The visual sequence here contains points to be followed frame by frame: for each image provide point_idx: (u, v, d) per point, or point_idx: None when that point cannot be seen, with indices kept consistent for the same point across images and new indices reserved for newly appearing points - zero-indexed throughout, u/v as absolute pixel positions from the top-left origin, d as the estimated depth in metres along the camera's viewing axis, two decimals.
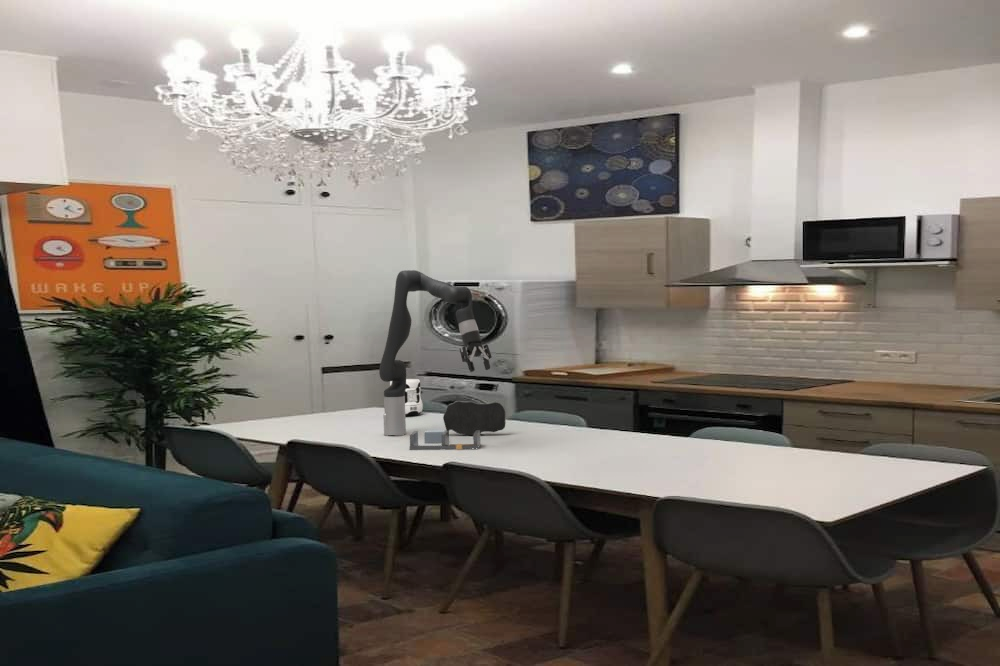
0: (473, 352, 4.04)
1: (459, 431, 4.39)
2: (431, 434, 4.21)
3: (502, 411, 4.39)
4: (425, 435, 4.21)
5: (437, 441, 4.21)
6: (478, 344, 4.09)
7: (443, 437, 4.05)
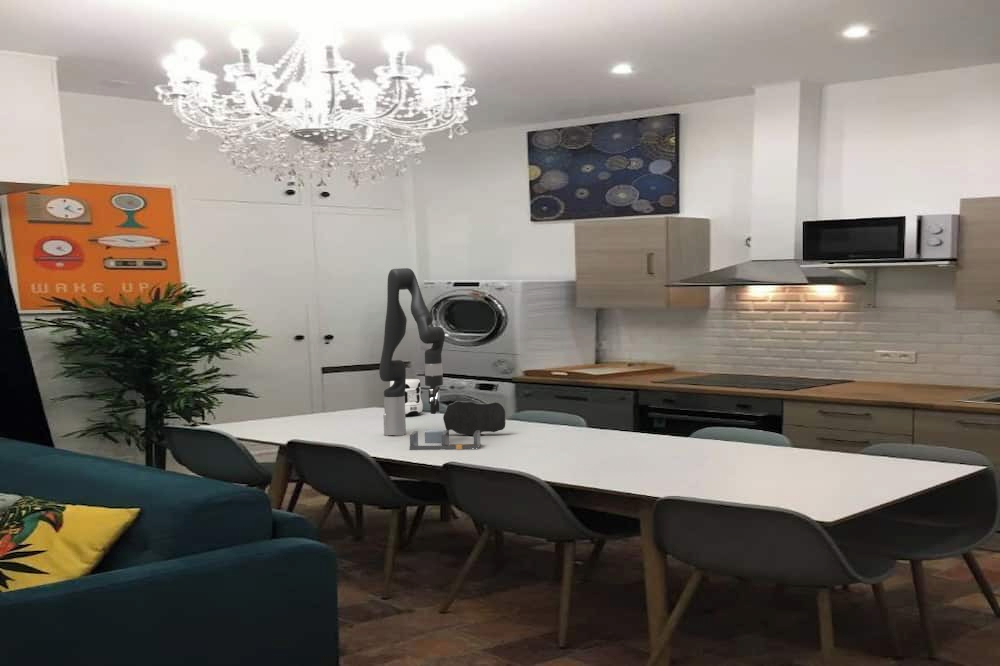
0: (437, 395, 4.19)
1: (459, 431, 4.39)
2: (431, 434, 4.22)
3: (502, 411, 4.39)
4: (425, 435, 4.22)
5: (437, 441, 4.21)
6: (437, 386, 4.24)
7: (443, 437, 4.05)
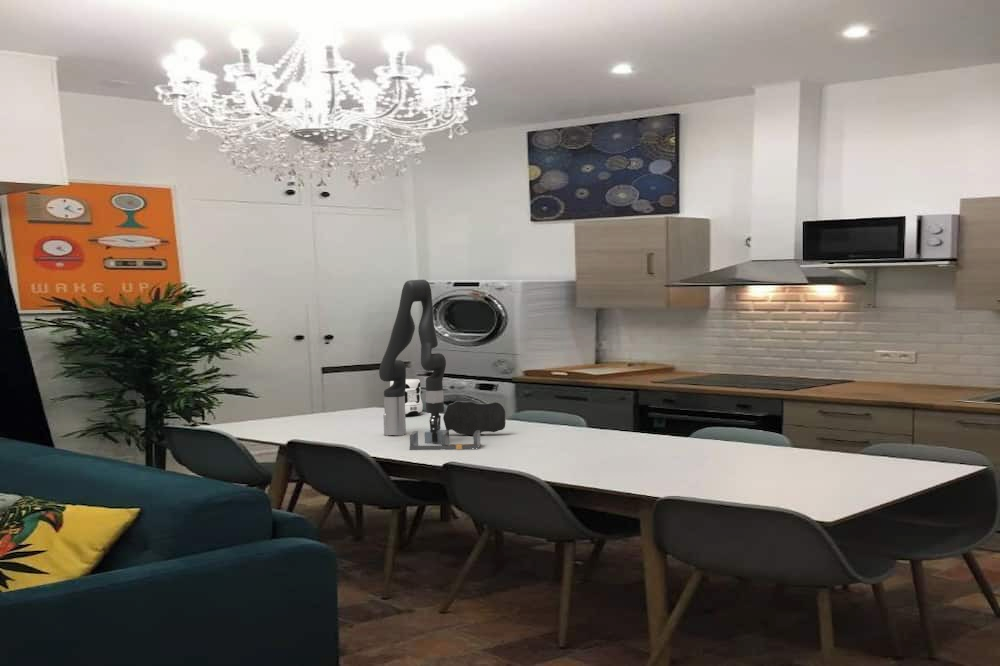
0: (438, 423, 4.21)
1: (459, 431, 4.39)
2: (431, 434, 4.21)
3: (502, 411, 4.39)
4: (425, 435, 4.21)
5: (437, 441, 4.21)
6: (438, 413, 4.24)
7: (443, 437, 4.05)
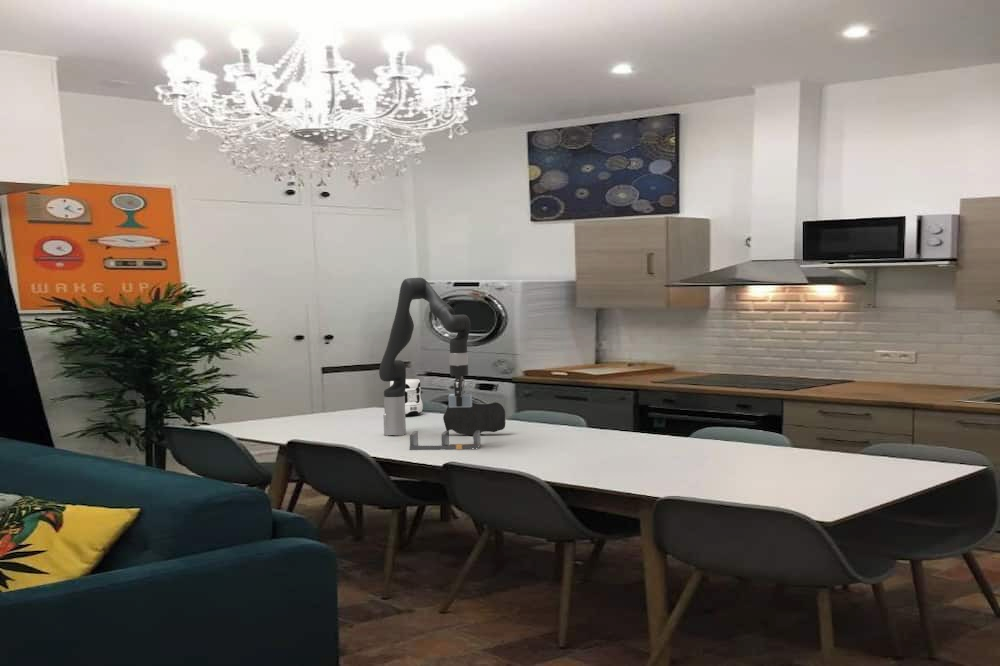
0: (462, 387, 4.06)
1: (459, 431, 4.39)
2: (455, 397, 4.07)
3: (502, 411, 4.39)
4: (449, 398, 4.07)
5: (462, 405, 4.07)
6: (462, 377, 4.10)
7: (443, 437, 4.05)
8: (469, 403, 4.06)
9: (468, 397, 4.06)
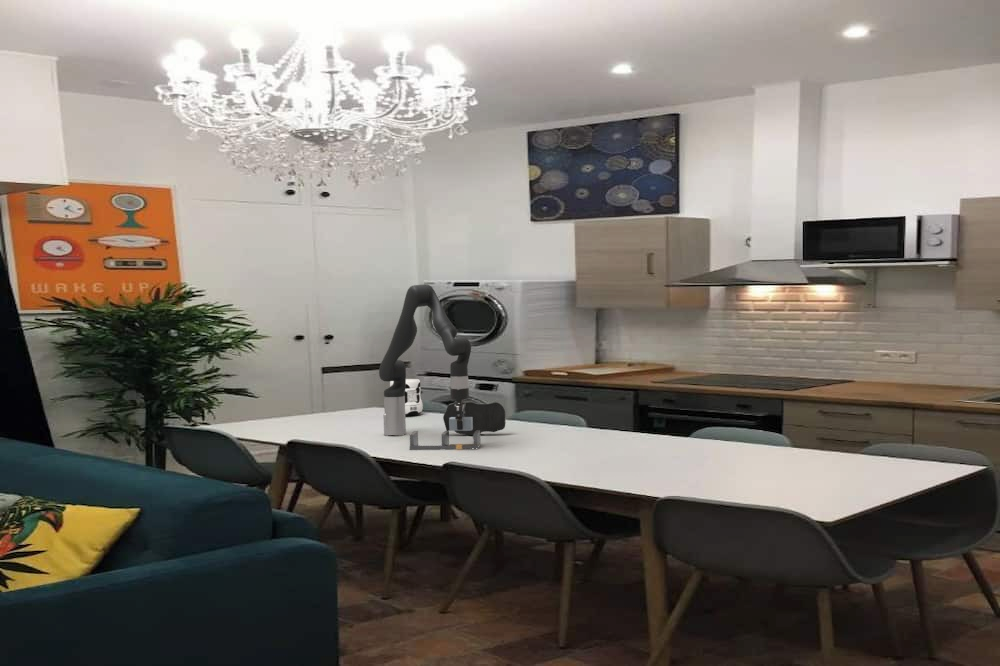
0: (463, 410, 4.07)
1: (459, 431, 4.39)
2: (456, 421, 4.07)
3: (502, 411, 4.39)
4: (450, 422, 4.08)
5: None
6: (463, 400, 4.11)
7: (443, 437, 4.05)
8: (470, 426, 4.07)
9: (469, 420, 4.07)
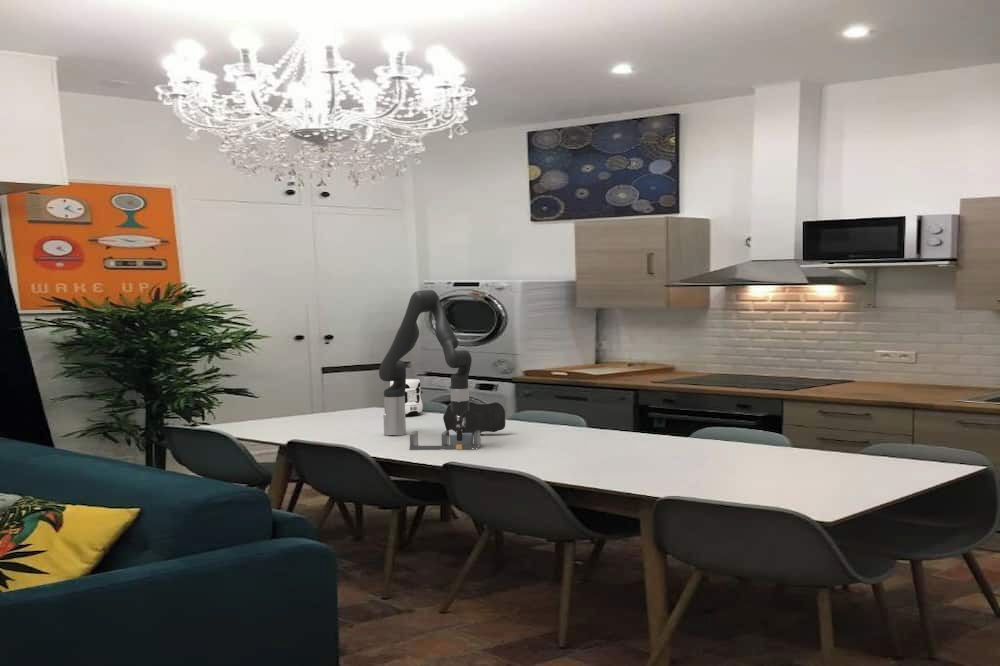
0: (463, 422, 4.07)
1: None
2: None
3: (502, 411, 4.39)
4: (451, 438, 4.08)
5: (463, 444, 4.08)
6: (463, 412, 4.11)
7: (443, 437, 4.05)
8: (470, 442, 4.07)
9: (469, 436, 4.07)
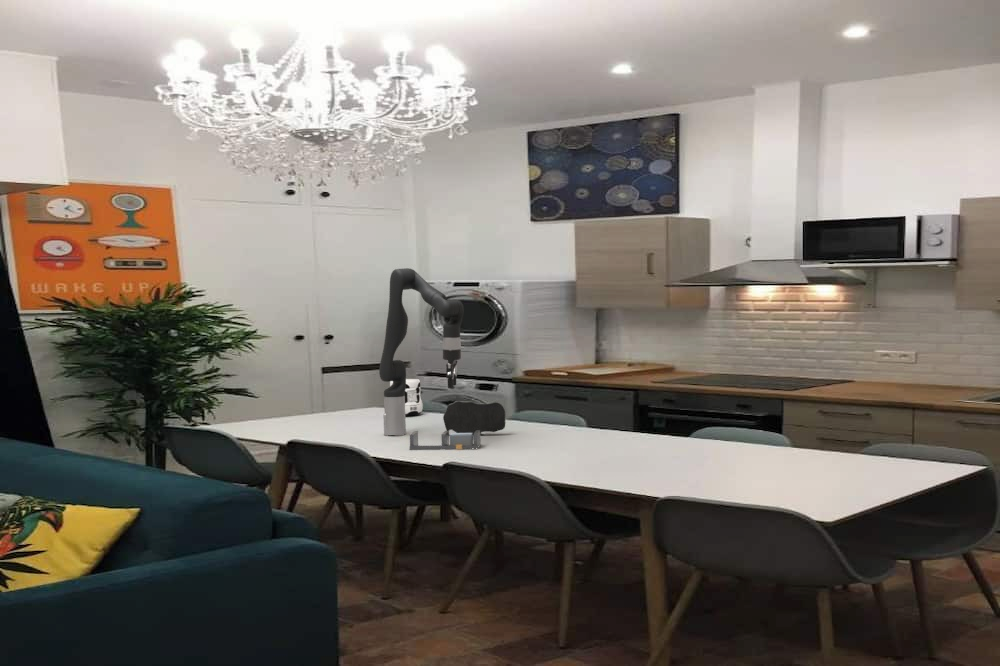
0: (454, 370, 4.16)
1: (459, 431, 4.39)
2: (457, 437, 4.08)
3: (502, 411, 4.39)
4: (451, 438, 4.08)
5: (463, 444, 4.08)
6: (455, 361, 4.20)
7: (443, 437, 4.05)
8: (470, 442, 4.07)
9: (469, 436, 4.07)
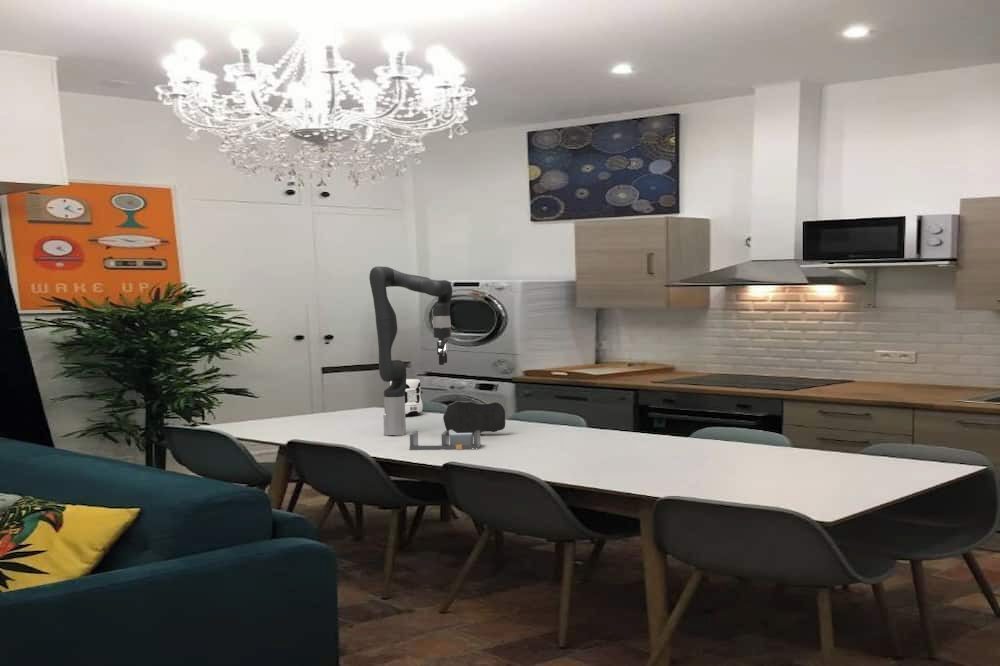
0: (445, 347, 4.31)
1: (459, 431, 4.39)
2: (457, 437, 4.08)
3: (502, 411, 4.39)
4: (451, 438, 4.08)
5: (463, 444, 4.08)
6: (445, 339, 4.35)
7: (443, 437, 4.05)
8: (470, 442, 4.07)
9: (469, 436, 4.07)
